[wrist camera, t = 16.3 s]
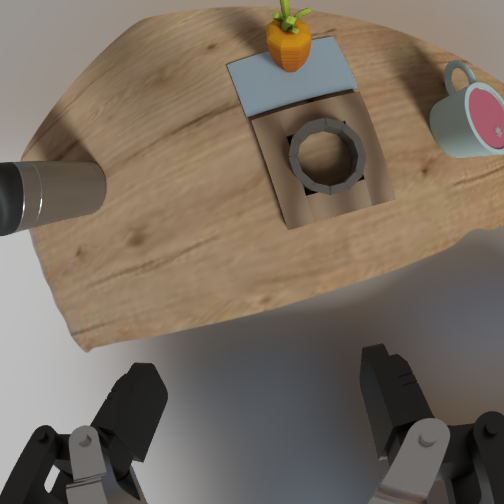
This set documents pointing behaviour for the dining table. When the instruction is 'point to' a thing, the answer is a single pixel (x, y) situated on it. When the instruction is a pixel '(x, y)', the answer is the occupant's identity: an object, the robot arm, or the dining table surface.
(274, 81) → the slate mat
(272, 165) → the ring stand
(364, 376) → the robot arm
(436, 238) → the dining table surface
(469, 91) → the mug
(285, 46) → the carrot
